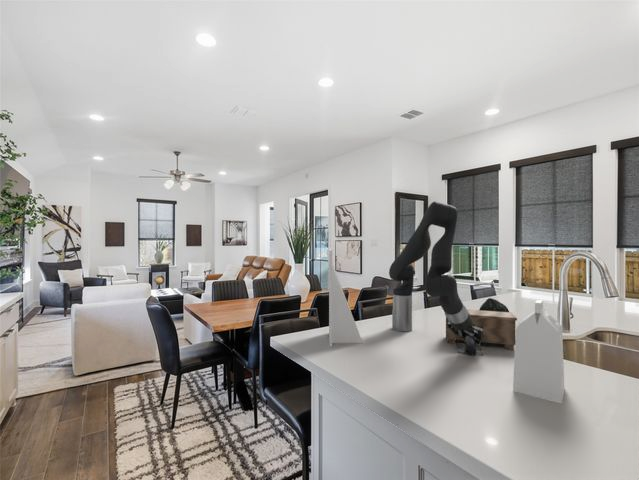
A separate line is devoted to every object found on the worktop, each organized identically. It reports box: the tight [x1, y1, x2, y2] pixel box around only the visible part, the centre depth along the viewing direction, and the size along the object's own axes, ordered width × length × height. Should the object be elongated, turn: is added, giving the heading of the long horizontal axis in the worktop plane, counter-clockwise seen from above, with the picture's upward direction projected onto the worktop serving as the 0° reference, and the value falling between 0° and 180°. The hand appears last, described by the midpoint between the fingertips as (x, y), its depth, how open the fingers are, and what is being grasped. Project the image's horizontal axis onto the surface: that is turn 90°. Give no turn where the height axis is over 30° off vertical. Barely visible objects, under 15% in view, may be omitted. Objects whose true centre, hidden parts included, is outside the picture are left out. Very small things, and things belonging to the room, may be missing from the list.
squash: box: [479, 297, 510, 312], centre depth 172 cm, size 14×15×15 cm
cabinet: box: [445, 309, 518, 351], centre depth 142 cm, size 27×11×13 cm, turn 70°
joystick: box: [456, 332, 484, 357], centre depth 132 cm, size 9×12×10 cm
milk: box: [512, 299, 565, 404], centre depth 97 cm, size 12×12×26 cm
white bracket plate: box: [328, 248, 364, 347], centre depth 147 cm, size 20×14×40 cm
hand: (472, 341), depth 129 cm, fingers closed on joystick, 4 cm apart
